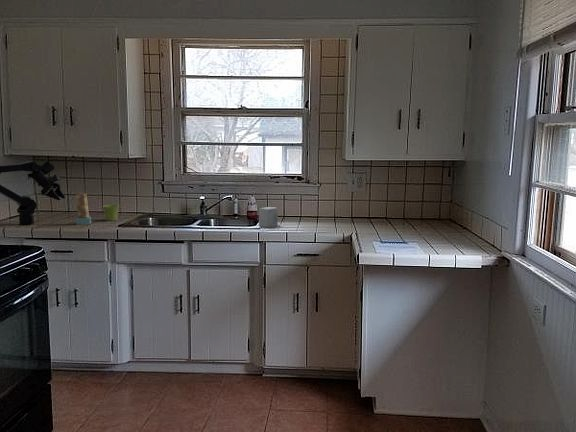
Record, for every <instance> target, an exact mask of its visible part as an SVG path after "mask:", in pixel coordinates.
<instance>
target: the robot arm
mask: <svg viewBox="0 0 576 432" xmlns="http://www.w3.org/2000/svg"><path fill="white" fill-rule="evenodd" d="M54 170H55V166H54V165H53V164H52V163H51V162H49V161H48V160H44V161H43V162H42V163H41V164H38V163H37V162H35V161H32V160H31V161H29V160H26V161H23V162H19V163H16V164H14V163H13V164H5V165H4V164H1V165H0V175H1V173H10V172H11V173H12V172H13V173H14V172H31V173H27V174H26V177H27V180H30V179H31V180H33V181H34V182H35V183H36V184H37V186H38V187H41V188H42V189H41V190H40V194H41V195H42V196H45V197H47V198H51V199H53V200H56V201H60V200H61V199H66V195H65V194H64V193H63V191H62V190H61V189H62V185H61V184H60V183H59V182H58V181H61V180H62V178H61V175H59V174H57V173H55V174H53V175H52V176H51V177H48V175H49V174H51V173H52V172H53V171H54ZM0 195H2V196H4V197H5V198H6V199H7V198H8V199H9V200H11V201H13V202H15V203H16V205H18V207H17V209H16V212H17V214H18V217H19V218H18V220H19V223H17V224H18V225H19V226H21V225H22V226H23V225H24V226H25V225H26V226H29V225H32V224H33V223H34V224H36V223H35V219H34V218H35V217H34V215H33V214H35V210H36V209H37V202H36V201H35V199H32V198H31V197H29V196H25V195H22V196H21V195H19V194H17V193H16V192H14V191H12V190H10V189H8V188H7V187H5V186H3V185H2V184H0Z"/></svg>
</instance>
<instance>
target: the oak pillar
mask: <svg viewBox="0 0 576 432" xmlns="http://www.w3.org/2000/svg"><path fill="white" fill-rule="evenodd" d="M75 198H76V199H75V200H76V206H77V207H76V208H77V217H78V218H84V217H89V216H90V212H89V205H88V193H81V194H78V193H77V194H75Z"/></svg>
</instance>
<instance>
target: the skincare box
mask: <svg viewBox="0 0 576 432" xmlns="http://www.w3.org/2000/svg"><path fill="white" fill-rule="evenodd" d="M258 210H259V212H258V214H259V217H258V227H259V226H261V228H267V227H268V228H272V227H276V226H275V225H277V226H278V221H279V220H278V219H279V218H278V217H279V214H278V212H279V208H278V207H273V206H267V207H260V208H259V209H258ZM271 226H272V227H271Z"/></svg>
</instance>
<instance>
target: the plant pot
mask: <svg viewBox="0 0 576 432" xmlns="http://www.w3.org/2000/svg"><path fill="white" fill-rule="evenodd" d="M119 207H120V205H118V204H108V205H107V204H106V205H102V208H103V211H104V215H105V221H107V222H109V221H110V222H112V221H115V220H116V221H118V214H119V213H118V212H119Z"/></svg>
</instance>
